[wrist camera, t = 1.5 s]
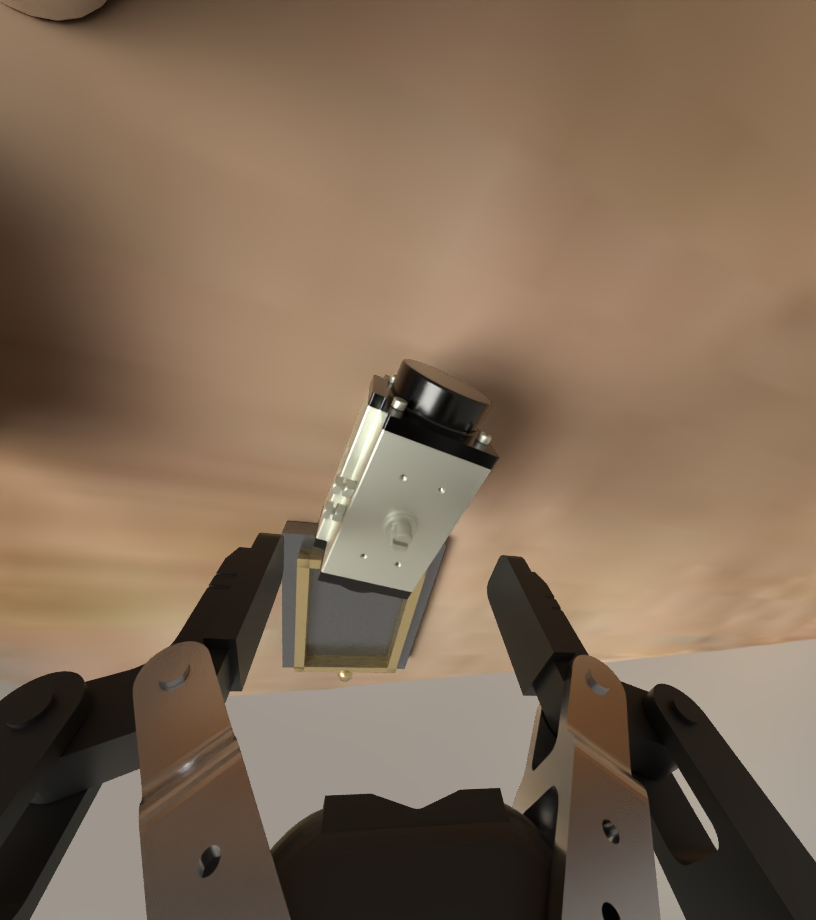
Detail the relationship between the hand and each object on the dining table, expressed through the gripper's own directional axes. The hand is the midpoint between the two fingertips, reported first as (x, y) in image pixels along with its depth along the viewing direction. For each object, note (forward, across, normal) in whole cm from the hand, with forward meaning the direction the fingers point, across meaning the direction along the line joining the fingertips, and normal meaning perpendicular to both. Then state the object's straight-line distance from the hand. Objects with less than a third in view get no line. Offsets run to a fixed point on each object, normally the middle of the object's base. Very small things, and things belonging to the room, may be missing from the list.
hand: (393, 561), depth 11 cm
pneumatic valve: (+13, 0, 0) cm, 13 cm away
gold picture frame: (+13, 0, +20) cm, 24 cm away
